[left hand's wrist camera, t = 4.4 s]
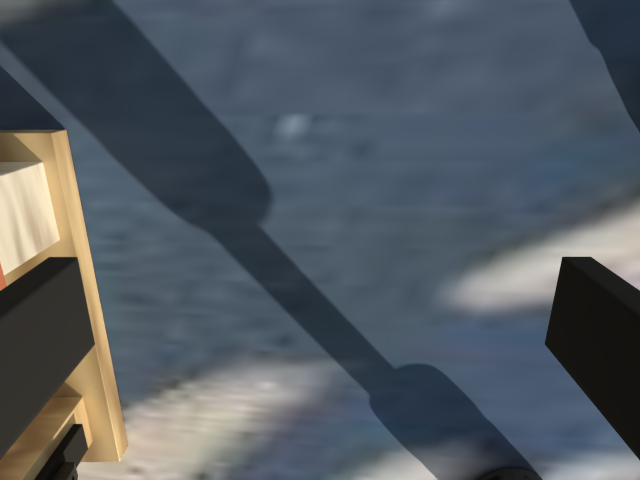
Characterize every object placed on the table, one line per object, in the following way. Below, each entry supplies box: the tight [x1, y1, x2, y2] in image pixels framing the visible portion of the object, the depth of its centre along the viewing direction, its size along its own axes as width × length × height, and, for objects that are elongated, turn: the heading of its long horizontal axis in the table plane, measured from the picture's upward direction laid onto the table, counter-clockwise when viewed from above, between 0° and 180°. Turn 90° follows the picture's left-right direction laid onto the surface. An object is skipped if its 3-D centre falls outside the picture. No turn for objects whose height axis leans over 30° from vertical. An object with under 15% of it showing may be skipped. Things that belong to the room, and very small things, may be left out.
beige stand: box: [0, 130, 128, 480], centre depth 32 cm, size 8×30×14 cm, turn 0°
